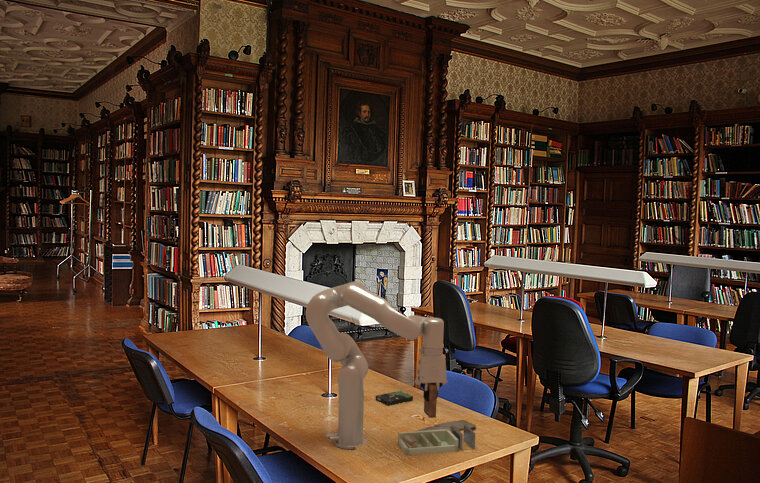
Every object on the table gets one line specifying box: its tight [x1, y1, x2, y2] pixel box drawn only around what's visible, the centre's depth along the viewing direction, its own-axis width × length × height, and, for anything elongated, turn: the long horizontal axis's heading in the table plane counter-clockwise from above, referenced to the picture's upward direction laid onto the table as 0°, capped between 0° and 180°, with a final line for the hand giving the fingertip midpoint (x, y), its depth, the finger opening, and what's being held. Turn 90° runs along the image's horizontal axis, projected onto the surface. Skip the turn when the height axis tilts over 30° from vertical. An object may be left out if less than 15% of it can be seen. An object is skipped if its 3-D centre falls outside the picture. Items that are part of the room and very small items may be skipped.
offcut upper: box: [404, 435, 418, 446], centre depth 222 cm, size 3×6×2 cm, turn 19°
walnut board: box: [423, 383, 438, 419], centre depth 223 cm, size 2×7×12 cm, turn 14°
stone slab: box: [417, 419, 477, 432], centre depth 242 cm, size 10×3×30 cm
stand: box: [451, 425, 476, 451], centre depth 227 cm, size 6×9×7 cm, turn 14°
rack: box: [397, 429, 459, 456], centre depth 224 cm, size 20×11×5 cm, turn 104°
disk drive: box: [375, 390, 414, 407], centre depth 282 cm, size 10×3×15 cm
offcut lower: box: [404, 440, 418, 448], centre depth 222 cm, size 3×7×2 cm, turn 14°
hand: (430, 399), depth 223 cm, fingers closed on walnut board, 2 cm apart
